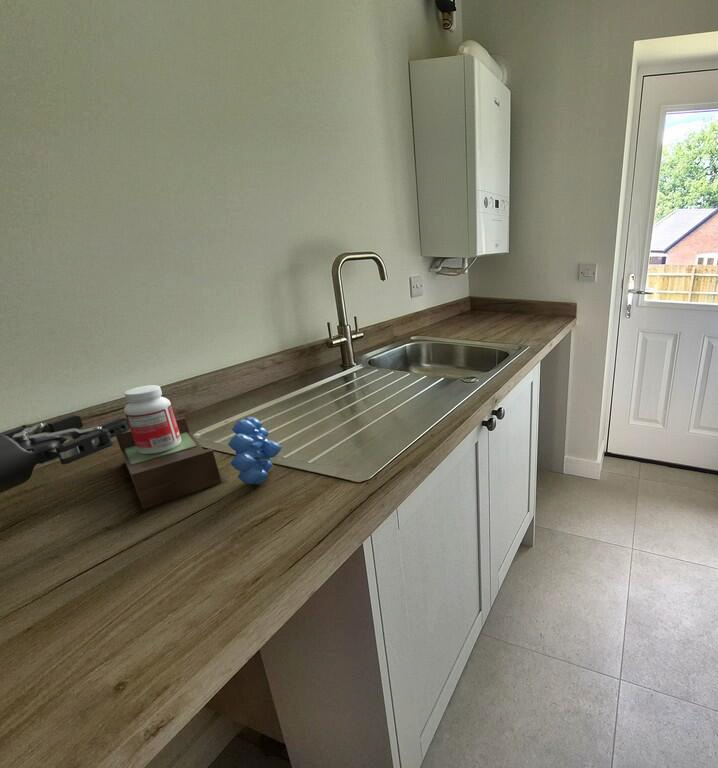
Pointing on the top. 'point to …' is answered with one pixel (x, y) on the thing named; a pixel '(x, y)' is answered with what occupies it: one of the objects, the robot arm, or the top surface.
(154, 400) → the pill bottle
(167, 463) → the brown two-tone box
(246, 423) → the grapes
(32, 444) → the robot arm
